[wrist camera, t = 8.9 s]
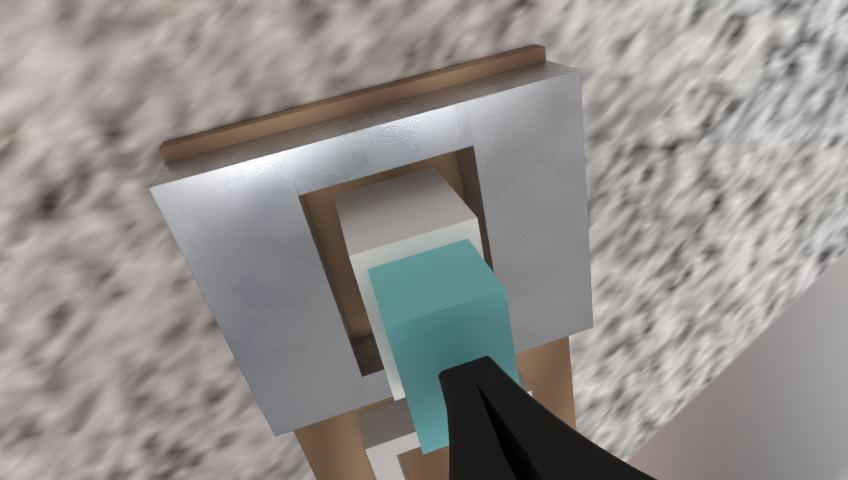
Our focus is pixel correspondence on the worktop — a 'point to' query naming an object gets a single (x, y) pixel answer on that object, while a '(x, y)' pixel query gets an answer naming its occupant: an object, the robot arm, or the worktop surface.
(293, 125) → the panel board
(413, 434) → the grey rectangular frame
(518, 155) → the port
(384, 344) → the plug
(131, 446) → the worktop surface
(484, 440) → the robot arm
